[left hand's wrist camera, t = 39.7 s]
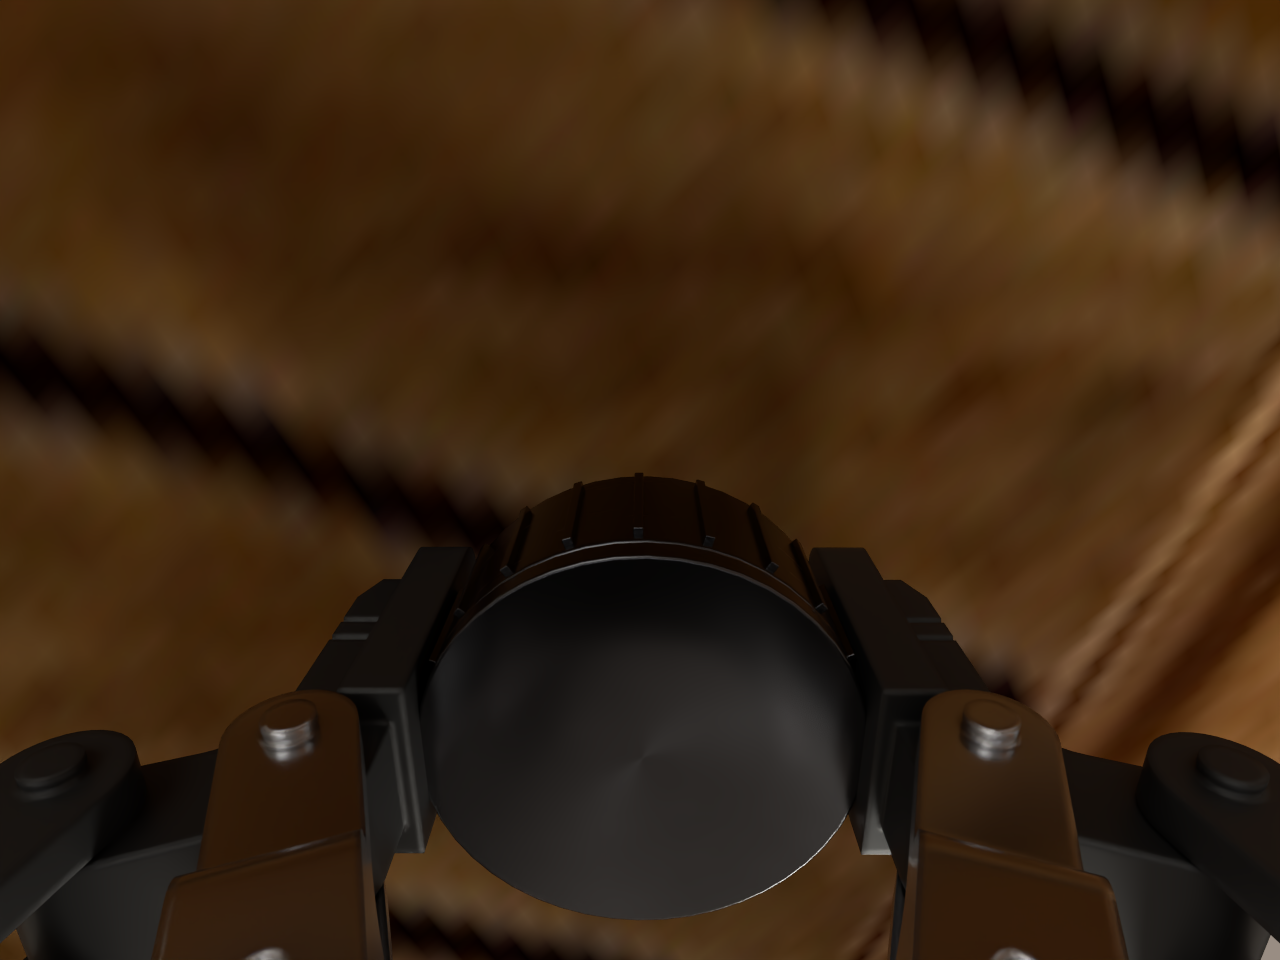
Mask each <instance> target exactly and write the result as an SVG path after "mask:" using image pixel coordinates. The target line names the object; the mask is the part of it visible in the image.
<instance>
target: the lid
mask: <svg viewBox="0 0 1280 960" xmlns="http://www.w3.org/2000/svg"><path fill="white" fill-rule="evenodd" d="M856 661H857V659H856V656H855V653H854V651H853V649H852V646H851V644H850V642H849V640H848V637H847V635H846V633H845V630H844V628H843V626H842V623H841V621H840V619H839V617H838V614H837V612H836V610H835V607H834V605H833V603H832V600H831V598H830V596H829V594H828V591H827V589H826V587H825V585H824V584H822V585H819V586H818V584H817V581H816V579H815V577H814V574H813V572H812V569H811V567H810V565H809V562H808V560H807V558H806V555H805V553H804V550H803V548H802V546H801V544H800V542H799V541H798V540H797V539H795V540H794V541H791V540H790V539H789V538H788V537H787V536H786V534H785V533H784V532H783V531H782V530H780V529H779V528H778V527H777V526H776V525H775V524H774V523H772V522H771V521H770V520H769V519H768V518H767V517H766V516H764V515H763V514H761V511H760V508H759V506H758V505H756V504H754V503H752V504H751V505H750V506H749V505H748V504H746V503H744V502H742V501H740V500H738V499H736V498H734V497H732V496H730V495H728V494H726V493H724V492H721V491H718V490H715V489H713V488H710V487H707V486H705V482H704V481H700V480H696V483H693V482H688V481H683V480H678V479H673V478H661V477H649V476H643V473H635V477H620V478H614V479H608V480H602V481H596V482H592V483H589V484H585V485H583V483H582V482H578V483H575V484H574V486H573V488H572V489H569V490H567V491H564V492H562V493H560V494H558V495H555V496H553V497H551V498H549V499H546V500H545V501H543V502H541V503H540V504H538V505H537V506H535V507H533V508H532V509H529V508H528V506H526V507H525V508H523V509H522V510H521V511H520V514H519V517H518V519H516V520H515V521H514V522H513V523H512V524H510V525H509V526H508V527H507V528H506V529H505V530H504V531H503V532H502V533H501V534H500V535H499V536H498V537H497V538H496V539H495V541H494V542H493V543H492V544H491V545H490V546H488V545H487V544H484V545H483V547H482V548H481V550H480V552H479V554H478V557H477V559H476V561H475V564H474V566H473V568H472V571H471V573H470V575H469V578H468V580H467V582H466V585H465V587H464V589H463V590H461V589H459V591H458V593H457V596H456V598H455V600H454V602H453V605H452V607H451V609H450V611H449V614H448V616H447V618H446V621H445V623H444V625H443V627H442V630H441V632H440V634H439V637H438V639H437V641H436V643H435V646H434V648H433V650H432V652H431V655H430V657H429V659H428V662H427V667H429V668H432V670H431V672H430V674H429V677H428V679H427V682H426V685H425V689H424V692H423V695H422V698H421V701H420V706H419V720H420V730H421V738H422V745H423V753H424V761H425V769H426V777H427V785H428V792H429V798H430V800H431V802H432V804H433V806H434V808H435V810H436V811H437V813H438V815H439V817H440V819H441V821H442V822H443V823H444V825H445V826H446V827H447V829H448V830H449V832H450V833H451V834H452V836H453V837H454V838H455V840H456V841H457V842H458V843H459V844H460V845H461V846H462V847H463V848H464V849H465V850H466V851H467V852H468V853H469V854H470V856H471V857H472V858H474V859H475V860H476V861H477V862H479V863H480V864H481V865H482V866H483V867H485V868H486V869H487V870H488V871H489V872H491V873H492V874H494V875H495V876H497V877H498V878H500V879H501V880H503V881H504V882H506V883H508V884H509V885H511V886H512V887H514V888H516V889H518V890H520V891H522V892H524V893H526V894H528V895H530V896H532V897H534V898H536V899H539V900H542V901H544V902H547V903H550V904H552V905H555V906H558V907H560V908H564V909H568V910H572V911H575V912H579V913H583V914H588V915H594V916H600V917H606V918H613V919H628V920H661V919H672V918H680V917H688V916H694V915H698V914H703V913H707V912H711V911H716V910H719V909H722V908H725V907H728V906H731V905H734V904H737V903H740V902H743V901H745V900H747V899H750V898H752V897H754V896H756V895H758V894H761V893H763V892H765V891H767V890H768V889H770V888H772V887H774V886H775V885H777V884H779V883H780V882H782V881H784V880H785V879H787V878H788V877H790V876H791V875H792V874H794V873H795V872H796V871H798V870H799V869H800V868H802V867H803V866H804V865H806V864H807V863H808V862H809V861H810V860H811V859H812V858H813V857H814V856H815V855H816V854H817V853H818V852H819V851H821V850H822V849H823V848H824V847H825V846H826V844H827V843H828V842H829V841H830V839H831V838H832V837H833V836H834V834H835V833H836V832H837V831H838V829H839V828H840V827H841V825H842V823H843V822H844V820H845V818H846V816H847V815H848V813H849V811H850V810H851V808H852V806H853V804H854V801H855V799H856V795H857V790H858V782H859V774H860V767H861V759H862V751H863V743H864V736H865V728H866V718H867V710H866V706H865V702H864V698H863V694H862V690H861V687H860V684H859V682H858V680H857V677H856V675H855V673H854V670H853V668H852V665H851V663H853V662H856Z"/></svg>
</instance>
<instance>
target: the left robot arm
mask: <svg viewBox="0 0 1280 960" xmlns="http://www.w3.org/2000/svg"><path fill="white" fill-rule="evenodd" d="M474 564H475V555H474V552H473V549H472V548H471V547H421V548H420V549H419V550H418V552H417V553H416V555H415V557H414V558H413V560H412V562H411V563H410V565H409V567H408V569H407V570H406V572H405V574H404V575H403V577H402V579H383V580H382V581H380V582H379V583H377V584H376V585H375V586H373V587H372V588H370V589H369V590H367V591H366V592H364V593H363V594H361V595H360V596H359V597H357V599H356V600H355V602H354V603H353V605H352V606H351V608H350V609H349V611H348V612H347V614H346V615H345V617H344V622H341V623H340V624H339V626H338V628H337V629H336V631H335V632H334V634H333V635H332V636H333V637H332V640H329V641H328V643H327V644H326V646H325V647H324V649H323V650H322V652H321V653H320V655H319V656H318V658H317V659H316V661H315V662H314V664H313V665H312V667H311V668H310V670H309V671H308V673H307V674H306V676H305V677H304V679H303V680H302V682H301V683H300V685H299V686H298V688H297V689H296V691H294V692H290V693H286V694H281V695H278V696H276V697H273V698H270V699H267V700H265V701H263V702H261V703H259V704H257V705H255V706H253V707H251V708H250V709H248V710H247V711H245V712H244V713H242V714H241V715H240V716H238V717H237V718H236V719H235V720H234V721H233V722H232V723H231V724H230V725H229V726H228V727H227V729H226V730H225V732H224V733H223V735H222V737H221V740H220V743H219V748H218V749H216V750H212V751H208V752H204V753H200V754H196V755H191V756H186V757H181V758H177V759H172V760H167V761H162V762H158V763H153V764H148V765H143V766H141V765H140V762H139V758H138V755H137V751H136V748H135V745H134V743H133V741H132V740H131V739H130V738H129V737H127V736H125V735H124V734H122V733H118V732H115V731H108V730H89V731H80V732H75V733H70V734H66V735H62V736H59V737H55V738H52V739H49V740H46V741H44V742H41V743H38V744H36V745H34V746H32V747H29V748H27V749H25V750H23V751H21V752H19V753H17V754H16V755H14V756H12V757H10V758H9V759H7V760H6V761H4V762H2V763H1V764H0V943H1V942H2V941H3V940H4V939H5V938H6V937H7V936H8V935H10V934H11V933H12V932H13V931H14V930H15V929H16V930H17V932H18V935H19V937H20V940H21V942H22V945H23V947H24V950H25V952H26V955H27V957H26V958H25V959H24V960H393V958H392V947H391V935H390V924H389V912H388V900H387V893H386V887H385V881H384V880H385V878H386V875H387V872H388V870H389V867H390V864H391V861H392V858H393V856H394V853H424V852H425V849H426V846H427V842H428V839H429V836H430V833H431V830H432V827H433V823H434V820H435V817H436V814H437V811H436V810H435V808H434V806H433V804H432V802H431V800H430V798H429V792H428V785H427V777H426V769H425V761H424V753H423V745H422V738H421V730H420V720H419V706H420V701H421V698H422V695H423V692H424V689H425V685H426V682H427V679H428V677H429V674H430V672H431V670H432V668H429V667H427V662H428V659H429V657H430V655H431V652H432V650H433V648H434V646H435V643H436V641H437V639H438V637H439V634H440V632H441V630H442V627H443V625H444V623H445V621H446V618H447V616H448V614H449V611H450V609H451V607H452V605H453V602H454V600H455V598H456V596H457V593H458V591H459V589H461V590H463V589H464V587H465V585H466V582H467V580H468V578H469V575H470V573H471V571H472V568H473V566H474ZM809 565H810V567H811V569H812V572H813V574H814V577H815V579H816V581H817V584H818V586H819V585H822V584H824V585H825V587H826V589H827V591H828V594H829V596H830V598H831V600H832V603H833V605H834V607H835V610H836V612H837V614H838V617H839V619H840V621H841V623H842V626H843V628H844V630H845V633H846V635H847V637H848V640H849V642H850V644H851V646H852V649H853V651H854V653H855V656H856V659H857V661H856V662H853V663H851V665H852V668H853V670H854V673H855V675H856V677H857V680H858V682H859V684H860V687H861V690H862V694H863V698H864V702H865V706H866V710H867V718H866V728H865V736H864V743H863V751H862V759H861V767H860V774H859V782H858V790H857V795H856V799H855V801H854V804H853V806H852V808H851V810H850V811H849V813H848V815H849V818H850V821H851V824H852V827H853V830H854V833H855V836H856V839H857V843H858V846H859V849H860V852H861V855H892V858H893V860H894V863H895V866H896V868H897V874H896V881H895V887H894V893H893V901H892V912H891V924H890V935H889V947H888V958H887V960H1261V957H1262V955H1263V952H1264V950H1265V948H1266V945H1267V943H1268V940H1269V938H1270V935H1272V936H1273V937H1274V938H1275V939H1276V940H1277V941H1278V942H1279V943H1280V764H1279V763H1277V762H1276V761H1274V760H1273V759H1271V758H1269V757H1267V756H1265V755H1263V754H1262V753H1260V752H1258V751H1255V750H1253V749H1251V748H1249V747H1247V746H1244V745H1241V744H1239V743H1236V742H1233V741H1230V740H1227V739H1223V738H1220V737H1216V736H1211V735H1207V734H1200V733H1192V732H1178V733H1169V734H1166V735H1162V736H1160V737H1158V738H1156V739H1155V740H1154V741H1153V742H1152V743H1151V744H1150V746H1149V748H1148V750H1147V754H1146V757H1145V761H1144V764H1143V767H1141V766H1136V765H1132V764H1127V763H1122V762H1117V761H1113V760H1108V759H1103V758H1098V757H1094V756H1089V755H1085V754H1081V753H1077V752H1073V751H1070V750H1067V749H1064V748H1061V743H1060V740H1059V737H1058V735H1057V733H1056V732H1055V730H1054V729H1053V727H1052V726H1051V725H1050V724H1049V723H1048V722H1047V721H1046V720H1045V719H1044V718H1043V717H1042V716H1040V715H1039V714H1038V713H1036V712H1035V711H1033V710H1032V709H1030V708H1029V707H1027V706H1025V705H1023V704H1021V703H1019V702H1017V701H1015V700H1013V699H1010V698H1007V697H1004V696H1002V695H999V694H994V693H991V692H990V691H989V689H988V688H987V686H986V685H985V683H984V682H983V680H982V679H981V677H980V676H979V674H978V673H977V671H976V670H975V668H974V667H973V665H972V664H971V662H970V661H969V659H968V658H967V657H966V655H965V654H964V652H963V651H962V649H961V648H960V646H959V645H958V643H957V642H956V641H953V636H952V634H951V633H950V631H949V630H948V628H947V627H946V625H945V624H944V623H941V618H940V616H939V615H938V613H937V612H936V610H935V609H934V607H933V606H932V604H931V603H930V601H929V600H928V598H927V597H925V596H924V595H922V594H921V593H919V592H918V591H916V590H915V589H913V588H912V587H910V586H909V585H907V584H906V583H905V582H903V581H902V580H883V578H882V577H881V575H880V573H879V572H878V570H877V568H876V567H875V565H874V563H873V561H872V560H871V558H870V556H869V555H868V553H867V551H866V550H865V549H864V548H813V549H812V550H811V553H810V557H809Z"/></svg>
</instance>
